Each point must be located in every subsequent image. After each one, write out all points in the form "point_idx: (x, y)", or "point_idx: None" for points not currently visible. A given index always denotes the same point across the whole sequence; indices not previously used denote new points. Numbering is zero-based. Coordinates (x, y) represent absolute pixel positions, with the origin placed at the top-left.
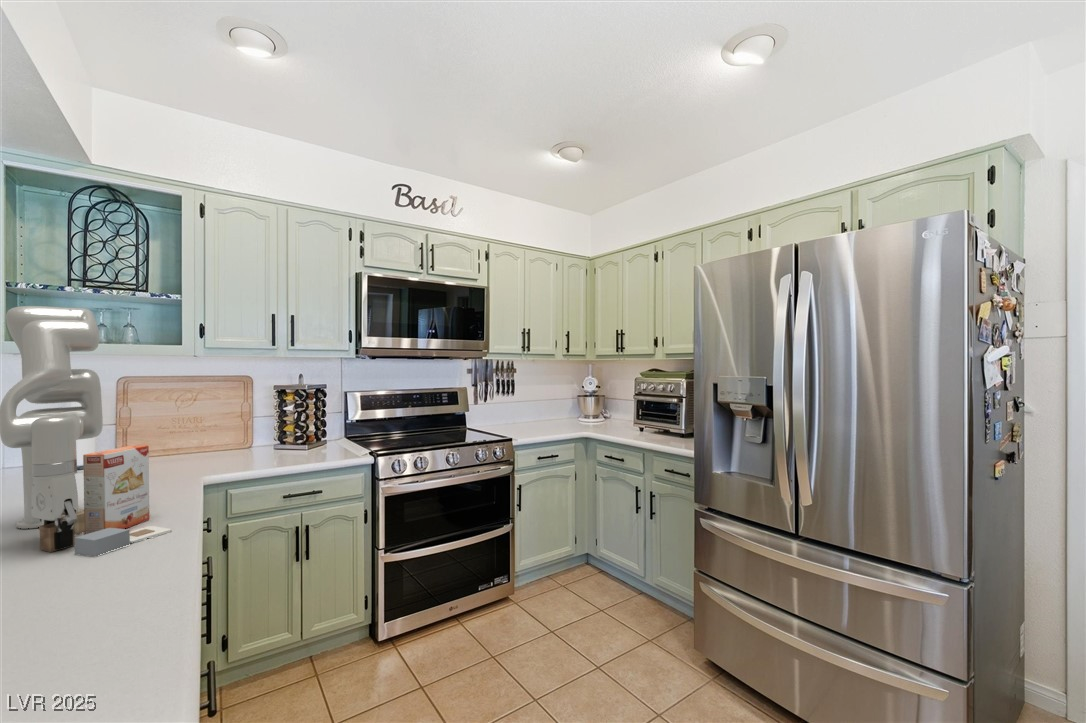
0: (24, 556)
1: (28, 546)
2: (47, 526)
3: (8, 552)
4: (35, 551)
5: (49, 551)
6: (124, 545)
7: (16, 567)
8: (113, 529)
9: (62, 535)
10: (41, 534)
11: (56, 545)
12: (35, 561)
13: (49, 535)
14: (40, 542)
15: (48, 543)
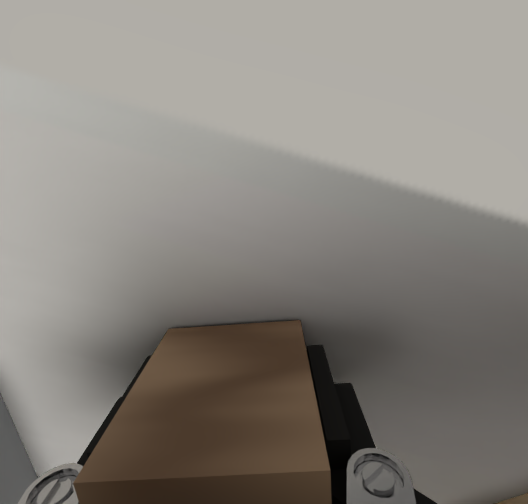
0: (256, 227)
1: (497, 318)
2: (203, 500)
3: (491, 212)
4: (311, 297)
5: (181, 328)
6: None
7: (4, 110)
8: None
9: (85, 457)
10: (280, 397)
11: (138, 374)
12: (44, 219)
13: (129, 411)
14: (296, 348)
15: (175, 359)
